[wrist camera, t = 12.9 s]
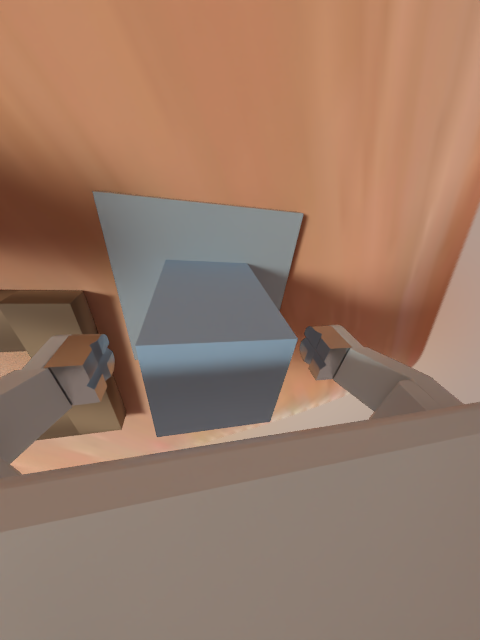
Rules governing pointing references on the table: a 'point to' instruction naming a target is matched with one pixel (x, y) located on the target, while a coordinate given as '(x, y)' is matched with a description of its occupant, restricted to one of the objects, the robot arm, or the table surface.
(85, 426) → the walnut stand
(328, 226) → the table surface
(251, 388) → the blue block
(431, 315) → the table surface
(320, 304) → the table surface
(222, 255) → the ceramic pad
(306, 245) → the table surface
